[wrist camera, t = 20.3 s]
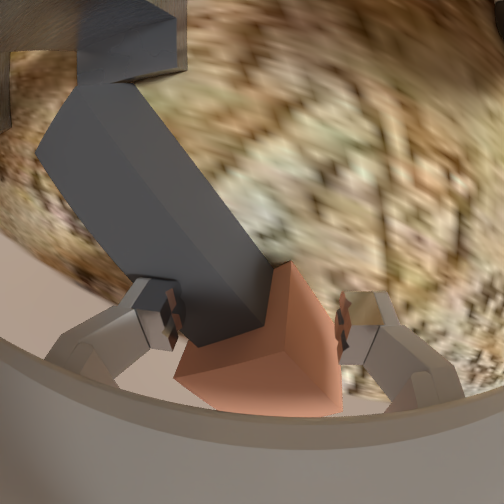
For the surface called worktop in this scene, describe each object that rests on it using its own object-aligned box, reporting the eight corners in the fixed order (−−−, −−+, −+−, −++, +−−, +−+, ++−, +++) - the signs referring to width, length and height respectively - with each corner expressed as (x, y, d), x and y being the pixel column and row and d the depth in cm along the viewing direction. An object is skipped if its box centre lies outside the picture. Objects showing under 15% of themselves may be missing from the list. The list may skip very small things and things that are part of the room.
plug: (82, 144, 10) (1, 181, 6) (150, 67, 8) (59, 65, 4) (259, 354, 16) (245, 428, 12) (337, 327, 14) (342, 411, 9)
